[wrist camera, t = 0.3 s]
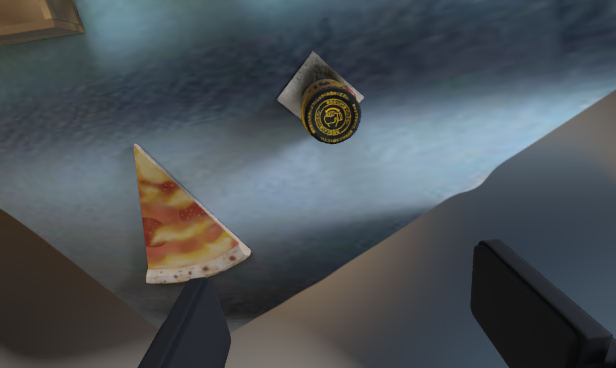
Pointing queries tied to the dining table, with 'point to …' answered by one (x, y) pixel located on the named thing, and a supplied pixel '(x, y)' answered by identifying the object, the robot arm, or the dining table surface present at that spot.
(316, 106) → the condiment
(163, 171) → the pizza slice
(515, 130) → the dining table surface
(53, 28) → the open wooden box
